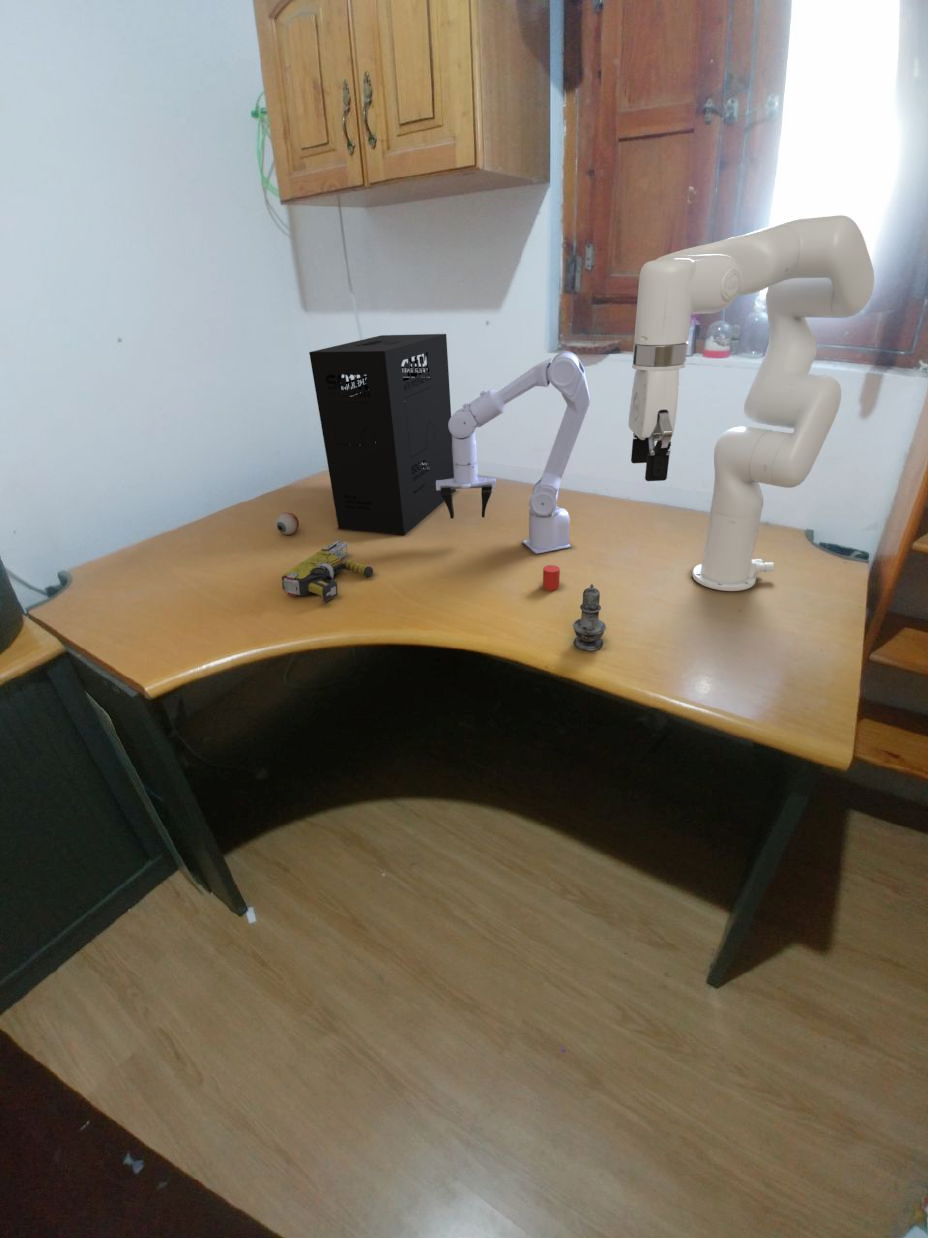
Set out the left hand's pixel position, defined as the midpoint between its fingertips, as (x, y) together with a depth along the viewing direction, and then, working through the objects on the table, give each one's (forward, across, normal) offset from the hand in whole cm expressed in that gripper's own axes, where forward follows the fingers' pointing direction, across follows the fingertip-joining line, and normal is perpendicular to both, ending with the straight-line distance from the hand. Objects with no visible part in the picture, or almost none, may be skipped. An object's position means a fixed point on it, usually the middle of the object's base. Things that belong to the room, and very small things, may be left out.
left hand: (467, 516), depth 150 cm
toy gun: (+7, -30, -19) cm, 36 cm away
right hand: (-24, +32, -45) cm, 60 cm away
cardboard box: (+7, -21, +28) cm, 36 cm away
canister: (+7, +19, -25) cm, 32 cm away
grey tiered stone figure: (+7, +24, -48) cm, 54 cm away
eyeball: (+7, -50, +10) cm, 51 cm away
